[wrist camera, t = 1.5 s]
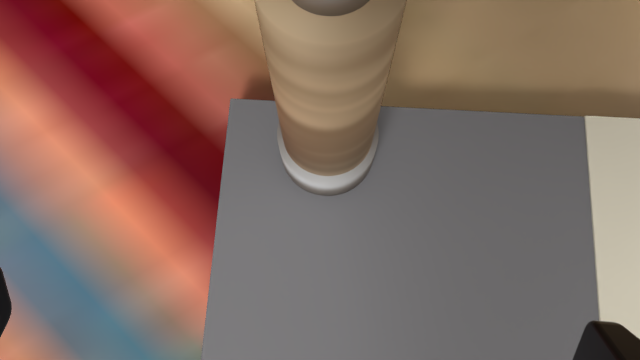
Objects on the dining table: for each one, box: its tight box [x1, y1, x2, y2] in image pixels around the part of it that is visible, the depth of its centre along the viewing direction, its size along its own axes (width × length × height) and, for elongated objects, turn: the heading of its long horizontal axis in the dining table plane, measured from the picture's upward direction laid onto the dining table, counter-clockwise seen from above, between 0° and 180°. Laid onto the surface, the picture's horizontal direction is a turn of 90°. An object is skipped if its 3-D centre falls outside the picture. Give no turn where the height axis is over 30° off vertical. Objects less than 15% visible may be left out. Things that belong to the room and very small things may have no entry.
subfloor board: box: [201, 99, 640, 360], centre depth 20 cm, size 17×20×1 cm
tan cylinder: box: [254, 0, 406, 196], centre depth 16 cm, size 4×4×12 cm
